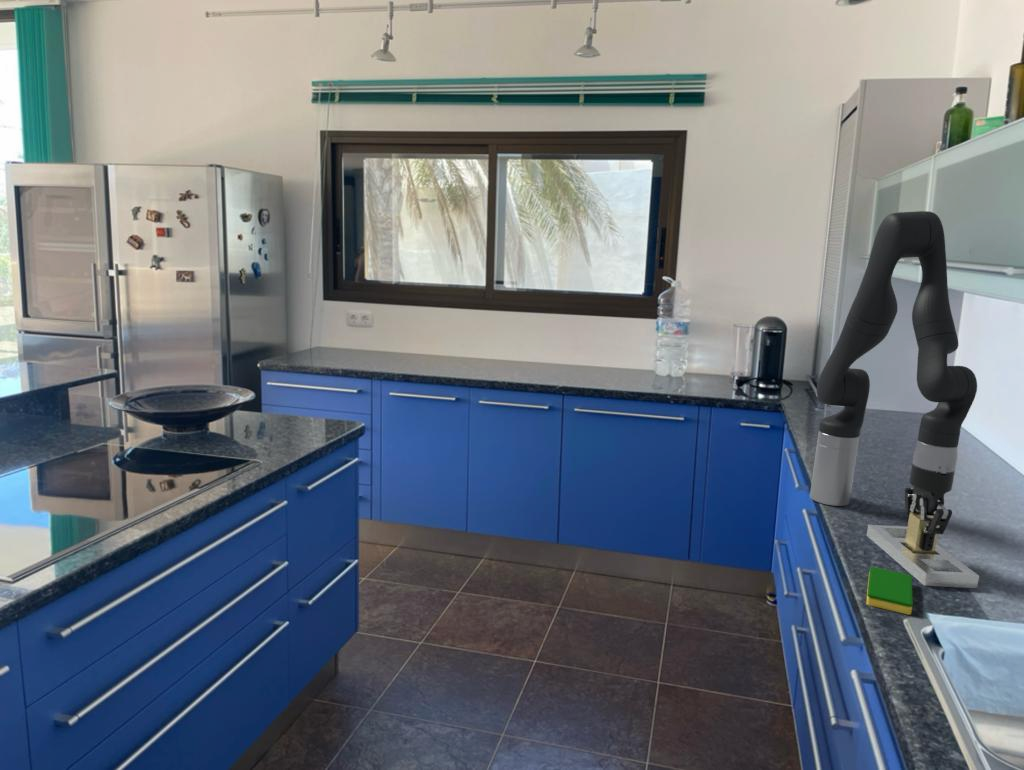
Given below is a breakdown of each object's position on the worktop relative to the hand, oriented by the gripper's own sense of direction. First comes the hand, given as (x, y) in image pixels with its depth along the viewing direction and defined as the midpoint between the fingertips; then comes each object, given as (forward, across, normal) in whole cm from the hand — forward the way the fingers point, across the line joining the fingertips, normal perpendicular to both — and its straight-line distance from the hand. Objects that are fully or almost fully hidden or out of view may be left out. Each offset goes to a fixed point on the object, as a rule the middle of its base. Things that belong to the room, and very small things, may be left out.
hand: (919, 545), depth 154 cm
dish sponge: (+4, +16, -14) cm, 22 cm away
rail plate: (+3, 0, 0) cm, 3 cm away
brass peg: (+1, 0, 0) cm, 1 cm away
